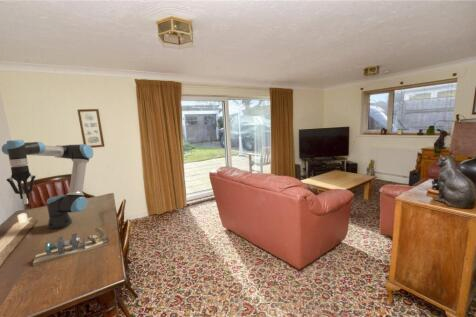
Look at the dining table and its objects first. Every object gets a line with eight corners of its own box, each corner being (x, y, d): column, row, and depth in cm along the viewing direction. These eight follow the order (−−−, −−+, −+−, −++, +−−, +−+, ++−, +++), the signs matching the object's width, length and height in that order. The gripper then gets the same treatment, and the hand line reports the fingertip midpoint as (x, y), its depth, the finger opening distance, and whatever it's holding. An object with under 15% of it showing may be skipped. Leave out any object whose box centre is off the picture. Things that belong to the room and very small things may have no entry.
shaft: (46, 255, 124) (44, 245, 123) (48, 250, 130) (46, 240, 129) (80, 246, 133) (78, 236, 132) (80, 242, 138) (79, 232, 137)
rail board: (36, 257, 128) (36, 254, 128) (108, 238, 148) (108, 236, 148) (33, 265, 120) (32, 263, 120) (109, 244, 140) (109, 242, 140)
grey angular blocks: (60, 250, 134) (58, 236, 133) (108, 238, 148) (106, 225, 147) (58, 258, 126) (56, 243, 125) (109, 244, 140) (107, 230, 139)
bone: (86, 244, 134) (87, 228, 138) (88, 245, 139) (88, 229, 143) (102, 242, 138) (103, 225, 142) (103, 243, 143) (104, 227, 147)
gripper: (1, 168, 125) (9, 207, 128) (32, 165, 132) (39, 202, 135) (6, 166, 131) (13, 204, 134) (35, 163, 138) (41, 199, 141)
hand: (26, 203), depth 135 cm, fingers closed
